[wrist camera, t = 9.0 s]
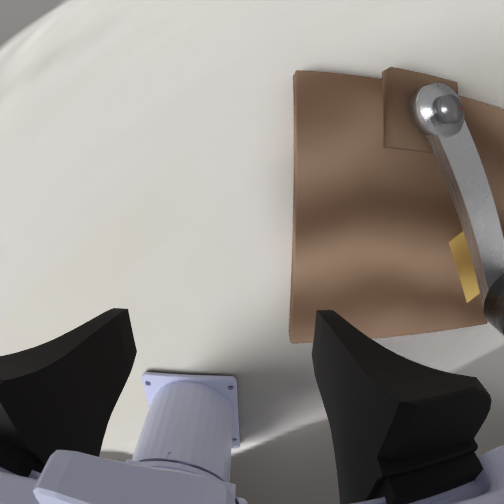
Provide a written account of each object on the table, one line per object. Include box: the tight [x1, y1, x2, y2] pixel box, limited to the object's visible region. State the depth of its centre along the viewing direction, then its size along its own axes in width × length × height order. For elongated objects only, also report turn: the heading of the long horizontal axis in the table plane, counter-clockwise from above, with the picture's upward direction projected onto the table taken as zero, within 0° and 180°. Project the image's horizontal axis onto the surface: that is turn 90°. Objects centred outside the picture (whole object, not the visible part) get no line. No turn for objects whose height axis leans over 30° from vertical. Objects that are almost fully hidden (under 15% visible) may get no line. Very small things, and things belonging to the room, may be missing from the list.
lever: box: [409, 83, 504, 335], centre depth 15 cm, size 18×4×6 cm, turn 32°
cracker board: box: [289, 67, 504, 343], centre depth 19 cm, size 18×18×3 cm
